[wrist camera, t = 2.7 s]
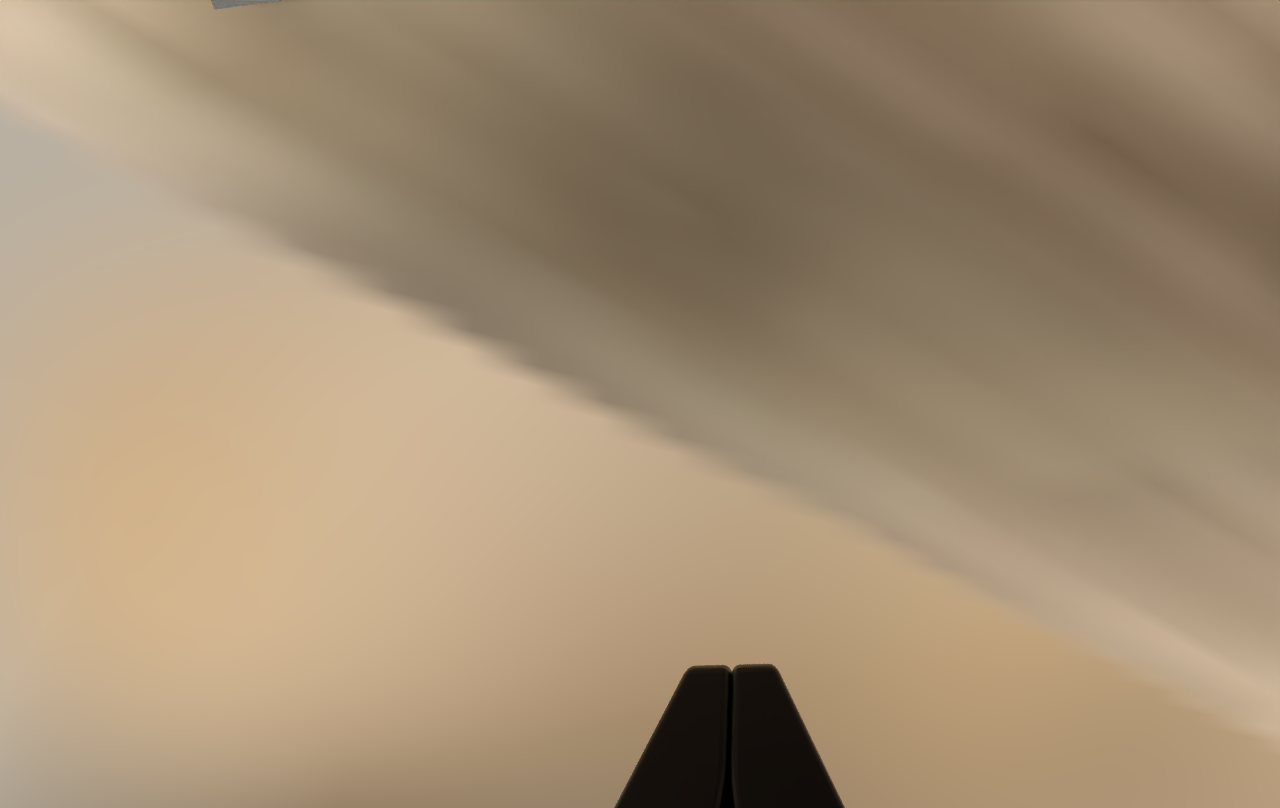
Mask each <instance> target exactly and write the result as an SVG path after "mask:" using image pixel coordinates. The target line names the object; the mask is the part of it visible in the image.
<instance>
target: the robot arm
mask: <svg viewBox="0 0 1280 808" xmlns="http://www.w3.org/2000/svg"><path fill="white" fill-rule="evenodd" d="M615 808H845V807H844V805H843V803H842V801H841V799H840V797H839V795H838V793H837V790H836V789H835V786H834V784H833V782H832V780H831V778H830V776H829V774H828V772H827V770H826V768H825V766H824V764H823V761H822V759H821V757H820V755H819V753H818V751H817V749H816V747H815V745H814V743H813V741H812V739H811V737H810V735H809V733H808V730H807V728H806V726H805V724H804V722H803V720H802V718H801V716H800V714H799V712H798V710H797V708H796V706H795V704H794V701H793V699H792V698H791V695H790V694H789V691H788V689H787V687H786V685H785V683H784V681H783V679H782V677H781V675H780V673H779V671H778V669H777V668H776V667H775V666H773V665H772V664H747V665H746V664H745V665H737V666H736V667H734V669H733V671H731V669H730V668H729V667H727V666H725V665H705V666H692V667H690V668H689V669H688V670H687V671H686V672H685V674H684V675H683V677H682V679H681V681H680V683H679V685H678V686H677V689H676V690H675V692H674V694H673V696H672V698H671V700H670V702H669V704H668V706H667V708H666V710H665V711H664V713H663V715H662V717H661V719H660V721H659V723H658V725H657V727H656V729H655V731H654V733H653V734H652V736H651V738H650V740H649V742H648V744H647V746H646V748H645V750H644V752H643V754H642V756H641V758H640V760H639V762H638V764H637V765H636V767H635V769H634V771H633V773H632V775H631V777H630V779H629V781H628V783H627V784H626V786H625V788H624V790H623V792H622V794H621V796H620V798H619V800H618V802H617V804H616V806H615Z"/></svg>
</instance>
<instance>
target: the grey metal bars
mask: <svg viewBox="0 0 1280 808" xmlns="http://www.w3.org/2000/svg"><path fill="white" fill-rule="evenodd" d="M211 1H212V4H213V6H214V9H221V8H229V7H236V6H244V5H252V4H260V3H268V2H276V1H280V0H211Z"/></svg>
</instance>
